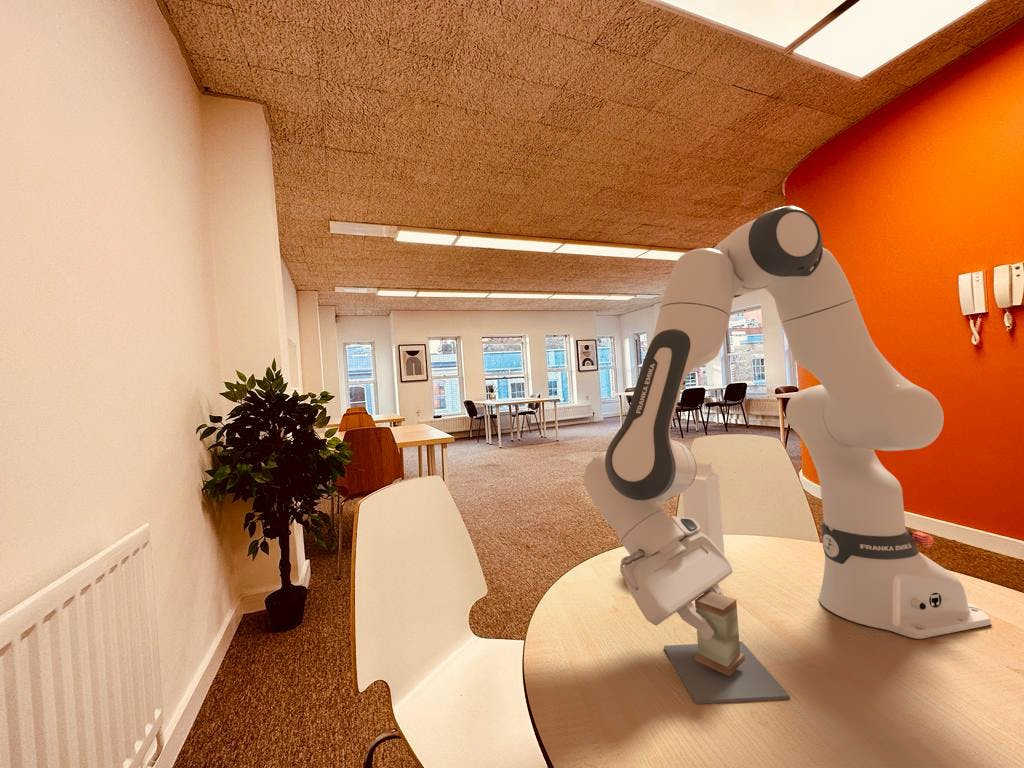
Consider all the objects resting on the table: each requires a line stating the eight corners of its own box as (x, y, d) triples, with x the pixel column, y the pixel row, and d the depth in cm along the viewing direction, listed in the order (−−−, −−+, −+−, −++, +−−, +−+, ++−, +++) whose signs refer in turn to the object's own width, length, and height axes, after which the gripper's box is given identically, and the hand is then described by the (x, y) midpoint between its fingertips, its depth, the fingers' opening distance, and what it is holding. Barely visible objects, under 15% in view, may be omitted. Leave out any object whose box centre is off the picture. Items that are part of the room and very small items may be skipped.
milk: (711, 564, 97) (704, 466, 97) (686, 557, 102) (679, 463, 102) (725, 556, 100) (718, 462, 101) (700, 550, 105) (693, 459, 106)
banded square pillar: (711, 646, 65) (707, 588, 65) (744, 660, 61) (740, 599, 61) (694, 660, 62) (690, 600, 62) (729, 675, 58) (724, 611, 58)
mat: (741, 644, 67) (741, 641, 67) (790, 698, 55) (789, 695, 55) (664, 648, 67) (664, 645, 67) (695, 703, 55) (695, 700, 55)
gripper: (626, 550, 60) (698, 650, 53) (699, 516, 73) (766, 593, 65) (603, 573, 64) (667, 670, 56) (677, 537, 77) (738, 612, 69)
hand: (721, 628), depth 61 cm, fingers closed on banded square pillar, 4 cm apart
